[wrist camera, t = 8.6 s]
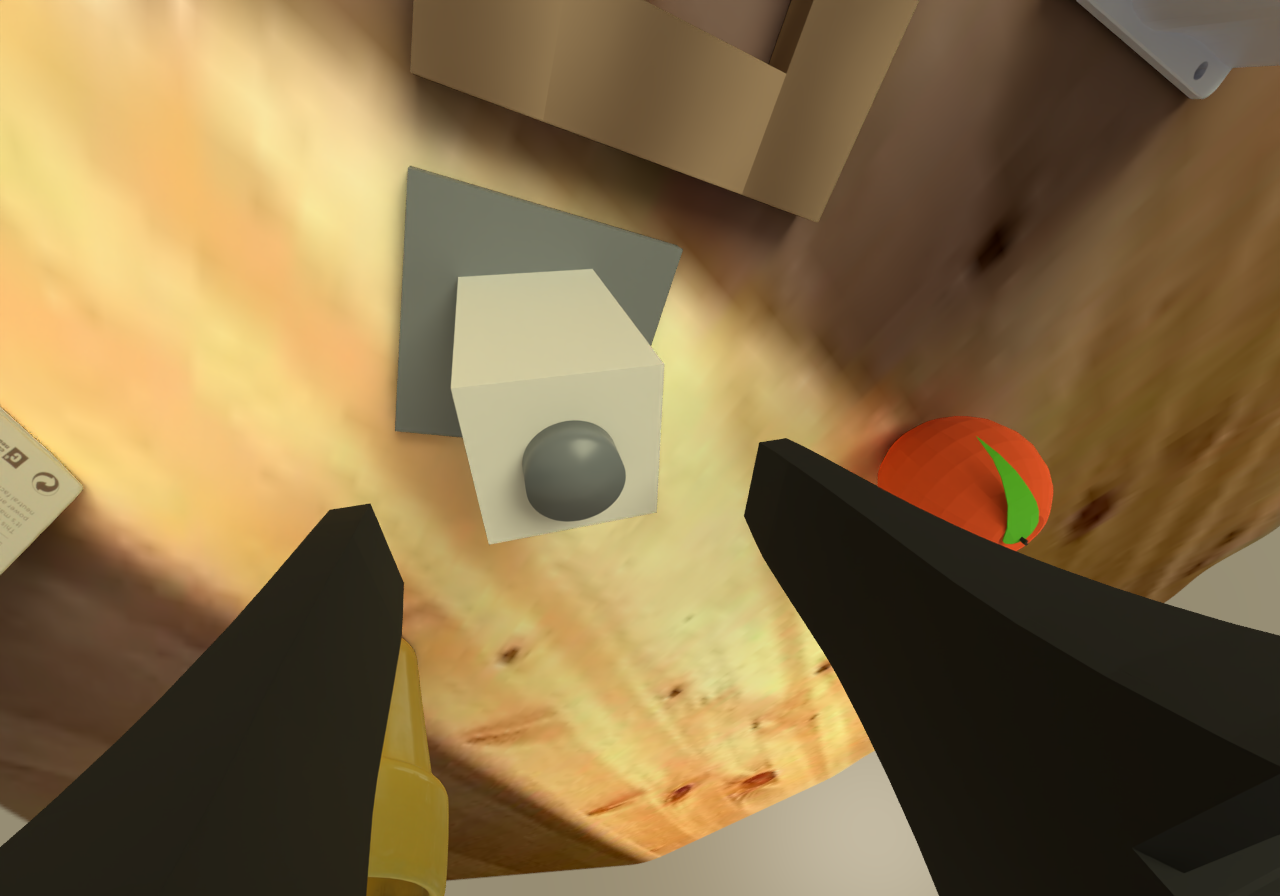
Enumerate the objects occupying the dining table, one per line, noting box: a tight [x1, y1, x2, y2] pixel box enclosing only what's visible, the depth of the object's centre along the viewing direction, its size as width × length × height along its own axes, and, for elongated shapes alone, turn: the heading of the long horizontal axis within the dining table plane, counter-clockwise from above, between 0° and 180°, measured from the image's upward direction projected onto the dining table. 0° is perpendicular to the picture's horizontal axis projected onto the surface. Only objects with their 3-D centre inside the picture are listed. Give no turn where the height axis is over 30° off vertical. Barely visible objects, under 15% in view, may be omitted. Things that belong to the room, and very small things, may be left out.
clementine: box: [878, 416, 1053, 551], centre depth 22 cm, size 8×7×7 cm
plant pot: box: [366, 638, 449, 896], centre depth 19 cm, size 10×10×10 cm
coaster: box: [395, 166, 683, 437], centre depth 16 cm, size 8×8×1 cm
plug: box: [451, 269, 664, 545], centre depth 12 cm, size 4×4×8 cm
